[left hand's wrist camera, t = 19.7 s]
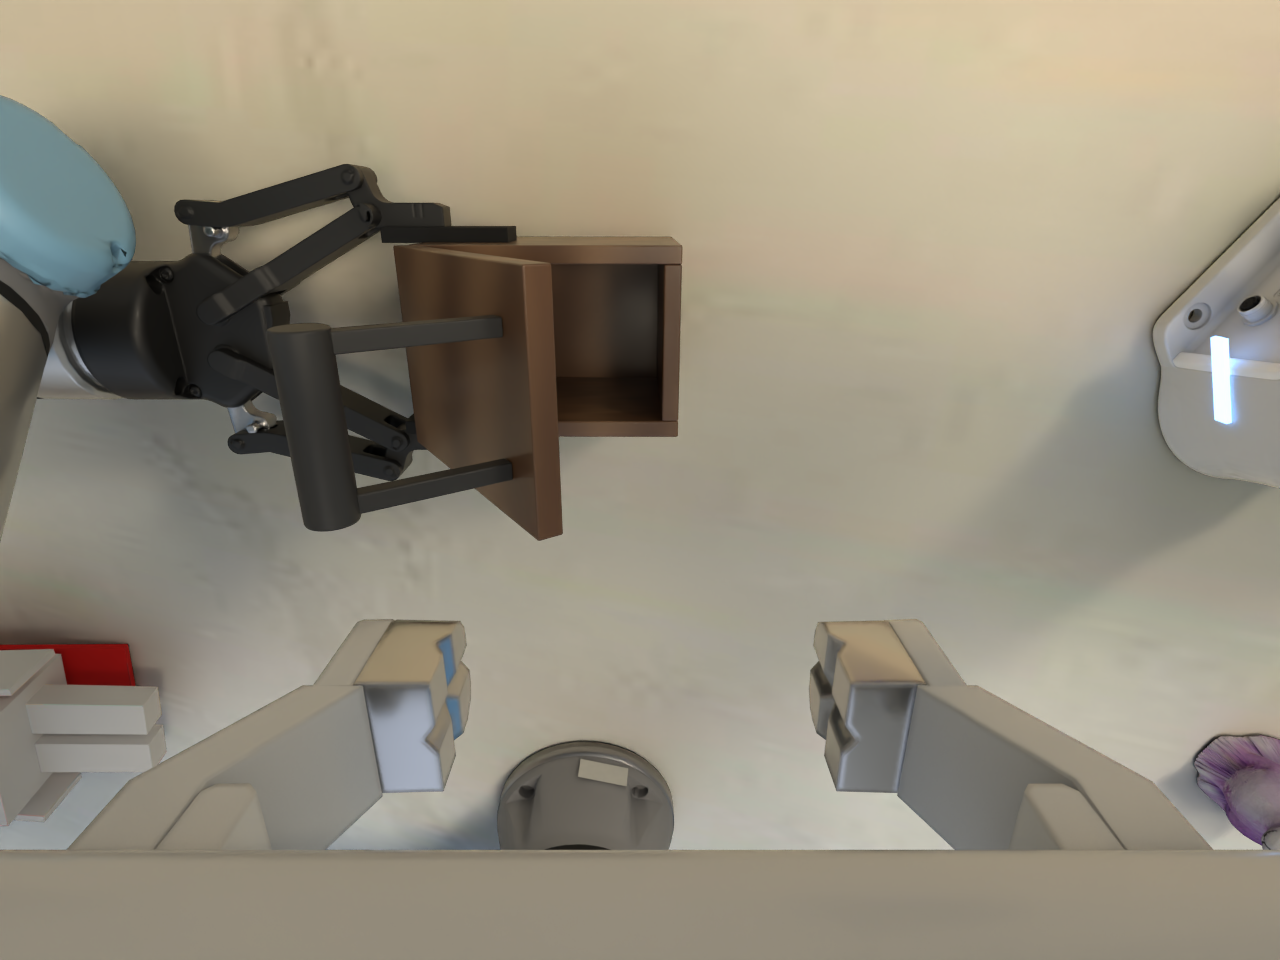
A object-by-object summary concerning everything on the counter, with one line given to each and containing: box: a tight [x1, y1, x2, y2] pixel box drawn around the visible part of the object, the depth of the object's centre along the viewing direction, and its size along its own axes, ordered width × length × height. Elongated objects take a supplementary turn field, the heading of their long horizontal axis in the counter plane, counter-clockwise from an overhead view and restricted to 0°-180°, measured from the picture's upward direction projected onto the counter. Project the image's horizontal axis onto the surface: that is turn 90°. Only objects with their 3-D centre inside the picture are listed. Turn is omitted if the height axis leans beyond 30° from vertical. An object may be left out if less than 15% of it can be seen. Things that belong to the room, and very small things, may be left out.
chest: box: [411, 237, 682, 437], centre depth 40 cm, size 13×10×11 cm
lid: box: [266, 245, 563, 541], centre depth 27 cm, size 14×10×8 cm
